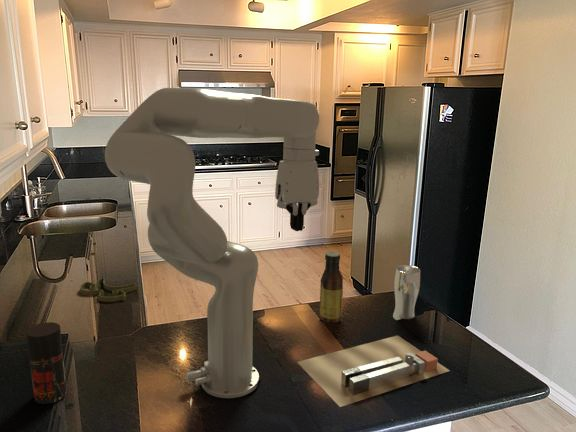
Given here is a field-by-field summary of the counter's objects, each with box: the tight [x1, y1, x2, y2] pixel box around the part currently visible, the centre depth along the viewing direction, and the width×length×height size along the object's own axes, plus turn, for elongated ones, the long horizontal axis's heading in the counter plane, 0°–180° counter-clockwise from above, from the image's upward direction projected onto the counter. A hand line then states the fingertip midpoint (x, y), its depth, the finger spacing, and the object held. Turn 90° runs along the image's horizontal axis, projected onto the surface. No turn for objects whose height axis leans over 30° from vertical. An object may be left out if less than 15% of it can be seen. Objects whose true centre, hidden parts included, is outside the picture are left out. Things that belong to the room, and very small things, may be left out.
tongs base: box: [349, 352, 425, 396], centre depth 102 cm, size 19×5×4 cm, turn 117°
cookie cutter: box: [79, 277, 139, 303], centre depth 146 cm, size 18×12×2 cm, turn 71°
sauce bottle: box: [319, 251, 344, 324], centre depth 130 cm, size 7×6×20 cm
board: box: [296, 335, 451, 408], centre depth 108 cm, size 30×18×1 cm, turn 117°
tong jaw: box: [341, 357, 403, 387], centre depth 103 cm, size 15×2×3 cm, turn 115°
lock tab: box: [415, 350, 439, 372], centre depth 108 cm, size 3×4×2 cm
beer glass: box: [392, 264, 421, 321], centre depth 133 cm, size 7×7×15 cm
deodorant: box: [25, 321, 67, 402], centre depth 94 cm, size 6×6×15 cm
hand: (296, 229), depth 115 cm, fingers closed
